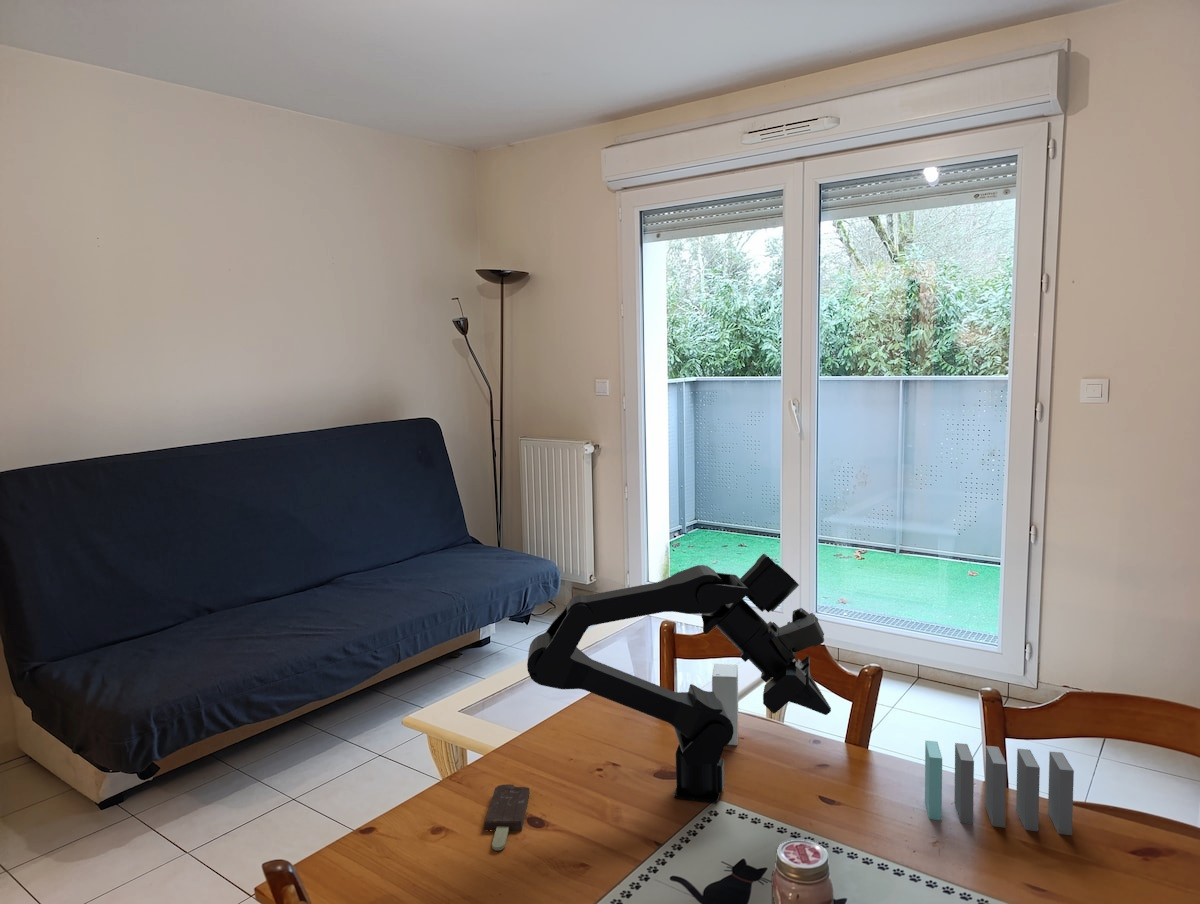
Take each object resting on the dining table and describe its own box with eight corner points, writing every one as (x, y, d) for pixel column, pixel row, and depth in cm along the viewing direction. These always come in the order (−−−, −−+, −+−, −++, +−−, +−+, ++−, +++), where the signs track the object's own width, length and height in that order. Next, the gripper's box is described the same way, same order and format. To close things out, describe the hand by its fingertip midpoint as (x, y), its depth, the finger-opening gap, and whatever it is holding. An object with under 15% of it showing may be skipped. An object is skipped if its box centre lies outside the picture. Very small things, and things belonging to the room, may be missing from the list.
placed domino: (929, 818, 108) (929, 757, 107) (924, 799, 113) (925, 740, 112) (941, 820, 107) (942, 758, 106) (936, 801, 112) (937, 741, 111)
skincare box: (738, 746, 131) (737, 677, 129) (712, 744, 131) (711, 676, 130) (739, 729, 136) (738, 663, 135) (714, 728, 137) (713, 662, 136)
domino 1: (960, 822, 107) (961, 759, 106) (954, 802, 112) (955, 742, 111) (973, 823, 106) (973, 761, 105) (966, 804, 111) (967, 744, 110)
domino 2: (992, 826, 106) (993, 763, 105) (984, 806, 110) (985, 745, 110) (1005, 827, 105) (1006, 764, 104) (997, 807, 110) (998, 746, 109)
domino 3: (1025, 829, 105) (1026, 766, 104) (1016, 809, 109) (1017, 748, 108) (1038, 831, 104) (1039, 767, 103) (1028, 810, 109) (1030, 749, 108)
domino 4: (1058, 833, 103) (1060, 769, 103) (1048, 813, 108) (1049, 751, 107) (1072, 835, 103) (1073, 770, 102) (1060, 814, 108) (1062, 752, 107)
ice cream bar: (517, 854, 104) (530, 793, 119) (516, 842, 104) (530, 783, 119) (478, 855, 104) (496, 794, 119) (477, 843, 104) (495, 784, 119)
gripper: (787, 618, 104) (874, 704, 102) (792, 580, 121) (866, 653, 119) (728, 670, 106) (812, 755, 105) (742, 627, 124) (814, 699, 122)
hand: (828, 712), depth 113 cm, fingers closed
